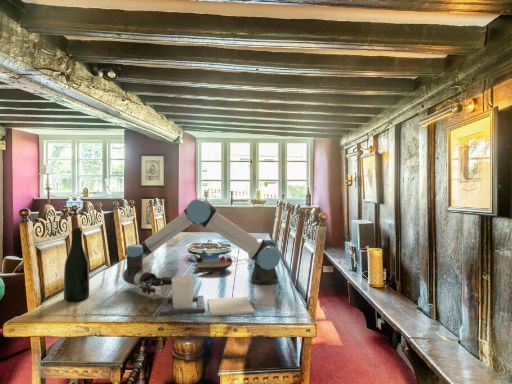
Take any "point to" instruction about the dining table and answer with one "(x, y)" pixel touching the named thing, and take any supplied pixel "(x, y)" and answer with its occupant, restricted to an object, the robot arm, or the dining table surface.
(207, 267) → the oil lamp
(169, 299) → the dark grey square frame
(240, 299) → the cream tile
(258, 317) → the dining table surface
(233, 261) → the glasses
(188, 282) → the candle holder
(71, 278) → the dark wine bottle
